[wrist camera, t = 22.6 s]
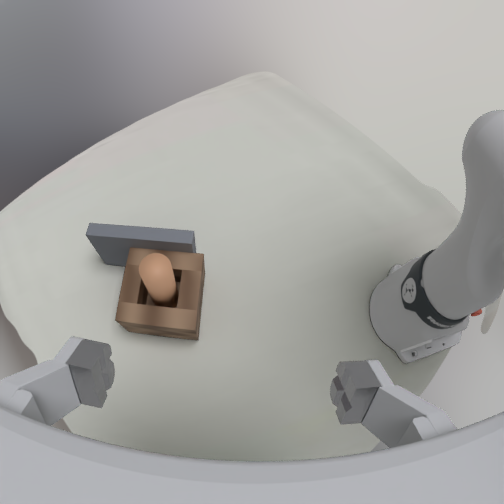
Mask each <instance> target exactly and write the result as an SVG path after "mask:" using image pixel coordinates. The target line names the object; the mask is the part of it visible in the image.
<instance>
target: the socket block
mask: <svg viewBox="0 0 504 504" xmlns="http://www.w3.org/2000/svg"><path fill="white" fill-rule="evenodd" d="M152 253H160V254H163V255H165V256H166V257H167V258H168V259H169V260H170V262H171V265H172V269H173V274H174V278H175V282H176V286H177V290H178V293H179V297H178V304H177V306H176V307H175V308H169V307H160V306H156V305H155V304H154V302H153V300H152V298H151V296H150V294H149V292H148V290H147V288H146V286H145V284H144V282H143V280H142V278H141V276H140V274H139V265H140V262H141V261H142V259H143V258H144V257H146V256H147V255H149V254H152ZM204 277H205V267H204V254H200V253H188V252H177V251H166V250H155V249H143V248H132V247H130V250H129V254H128V258H127V263H126V267H125V272H124V276H123V281H122V286H121V291H120V296H119V302H118V307H117V313H116V319H115V320H116V321H117V322H118V323H119V324H120V325H121V326H123V327H124V328H125V329H126V330H127V331H129V332H135V333H142V334H149V335H157V336H165V337H173V338H182V339H192V340H198V338H199V327H200V316H201V306H202V296H203V287H204Z"/></svg>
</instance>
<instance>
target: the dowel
mask: <svg viewBox="0 0 504 504" xmlns="http://www.w3.org/2000/svg"><path fill="white" fill-rule="evenodd" d="M139 274H140V276H141V278H142V280H143V282H144V284H145V286H146V288H147V290H148V292H149V294H150V296H151V298H152V300H153V302H154V304H155V305H156V306H160V307H169V308H175V307H176V306H177V304H178V297H179V293H178V290H177V286H176V282H175V278H174V274H173V269H172V265H171V262H170V260H169V259H168V258H167V257H166V256H165V255H163V254H160V253H152V254H149V255H147V256H146V257H144V258H143V259H142V261H141V262H140V265H139Z"/></svg>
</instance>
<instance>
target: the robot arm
mask: <svg viewBox="0 0 504 504" xmlns="http://www.w3.org/2000/svg"><path fill="white" fill-rule="evenodd" d="M462 161H463V165H464V169H465V176H466V198H465V205H464V210H463V213H462V216H461V219H460V221H459V223H458V225H457V227H456V228H455V230H454V231H453V232H452V233H451V234H450V236H449V237H448V238H447V239H446V240H445V241H444V242H443V243H442V244H441V245H440V246H439V247H438V248H437V249H435V250H431V251H430V252H428V253H426V254H424V255H423V256H422V257H420V258H419V257H415V258H413V259H412V260H410V261H409V262H407V263H406V264H404V265H403V266H402V265H399V264H397V265H395V266H393V267H392V268H391V270H390V272H389V274H388V276H387V277H386V278H385V279H384V280H383V281H381V282H380V283H379V284H378V285H377V286H376V288H375V289H374V291H373V293H372V296H371V300H370V317H371V321H372V324H373V327H374V329H375V331H376V333H377V335H378V336H379V337H380V339H381V340H382V341H383V342H384V343H385V344H387V345H388V346H389V347H391V348H392V349H393V350H395V351H396V353H397V355H398V356H399V358H400V359H401V361H402V362H404V363H410V362H413V361H416V360H418V359H421V358H424V357H427V356H429V355H432V354H434V353H437V352H440V351H442V350H445V349H447V348H449V347H452V346H454V345H456V344H458V343H459V341H460V338H461V333H462V330H465V329H466V328H467V325H468V322H469V315H470V314H471V316H477V315H480V314H481V313H482V310H481V308H483V307H485V306H487V305H489V304H491V303H493V302H494V301H495V300H496V299H497V298H498V297H499V296H500V295H501V293H502V291H503V289H504V110H496V111H491V112H488V113H486V114H484V115H483V116H481V117H479V118H478V119H477V120H476V121H475V122H474V123H473V124H472V126H471V127H470V128H469V130H468V132H467V134H466V137H465V140H464V144H463V151H462ZM412 353H413V356H412ZM111 354H112V352H111V347H110V345H109V344H106V343H102V342H97V341H92V340H88V339H83V338H78V337H74V336H73V337H70V338H69V340H68V341H67V342H66V343H65V345H64V346H63V347H62V349H61V350H60V351H59V353H58V354H57V355H56V357H55V358H54V359H53V361H52V360H47V361H45V362H43V363H40V364H38V365H35V366H33V367H30V368H28V369H26V370H23V371H21V372H18V373H16V374H13V375H11V376H8V377H6V378H4V379H1V380H0V504H504V412H502V413H499V414H497V415H495V416H492V417H490V418H487V419H485V420H482V421H480V422H477V423H475V424H472V425H469V426H466V427H464V428H461V429H457V428H456V427H455V425H454V424H453V422H452V421H451V419H450V418H449V416H448V415H447V413H446V412H445V411H444V410H442V409H441V408H439V407H437V406H435V405H433V404H431V403H430V402H428V401H426V400H424V399H422V398H420V397H419V396H417V395H415V394H413V393H411V392H410V391H408V390H406V389H404V388H402V387H401V386H399V385H394V383H393V382H392V380H391V379H390V377H389V376H388V374H387V372H386V371H385V369H384V368H383V366H382V365H381V363H380V362H379V361H378V360H377V359H374V360H365V361H346V362H339V364H338V365H337V368H336V372H337V374H338V375H337V376H336V377H335V378H334V379H333V380H332V383H331V388H330V395H331V400H332V403H333V404H334V405H336V406H337V410H336V414H337V417H338V419H339V422H340V424H353V423H361V424H362V425H363V426H365V427H366V428H367V429H368V430H369V431H370V432H372V433H373V434H374V435H375V436H376V437H377V438H379V439H380V440H381V441H382V442H383V443H385V444H386V445H387V446H388V447H389V448H388V449H383V450H378V451H372V452H366V453H360V454H353V455H346V456H339V457H330V458H320V459H308V460H292V461H228V460H212V459H200V458H190V457H181V456H174V455H166V454H160V453H154V452H148V451H142V450H137V449H132V448H127V447H123V446H118V445H114V444H110V443H106V442H102V441H98V440H94V439H90V438H87V437H83V436H80V435H77V434H73V433H70V432H67V431H64V430H61V429H58V428H55V427H52V426H51V425H53V424H54V423H55V422H57V421H58V420H60V419H61V418H63V417H64V416H65V415H67V414H68V413H70V412H71V411H72V410H74V409H75V408H77V407H78V406H80V405H81V404H85V405H89V406H94V407H98V408H102V407H103V404H104V402H105V400H106V398H107V392H106V390H108V389H109V388H111V386H112V384H113V381H114V376H115V369H114V363H113V362H112V361H111V360H110V356H111ZM80 403H81V404H80Z"/></svg>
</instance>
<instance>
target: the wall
mask: <svg viewBox="0 0 504 504" xmlns="http://www.w3.org/2000/svg"><path fill="white" fill-rule="evenodd" d="M86 236H87V237H88V239H89V241H90V242H91V243H92V245H93V246H94V248H95V249H96V251H97V252H98V254H99V255H100V257H101V258H102V259H103V261H104V262H105V264H110V265H119V266H126V263H127V258H128V254H129V250H130V247H132V248H143V249H155V250H166V251H177V252H188V253H196V246H195V237H194V231H188V230H176V229H163V228H151V227H138V226H124V225H110V224H96V223H89V226H88V229H87V232H86Z"/></svg>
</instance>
